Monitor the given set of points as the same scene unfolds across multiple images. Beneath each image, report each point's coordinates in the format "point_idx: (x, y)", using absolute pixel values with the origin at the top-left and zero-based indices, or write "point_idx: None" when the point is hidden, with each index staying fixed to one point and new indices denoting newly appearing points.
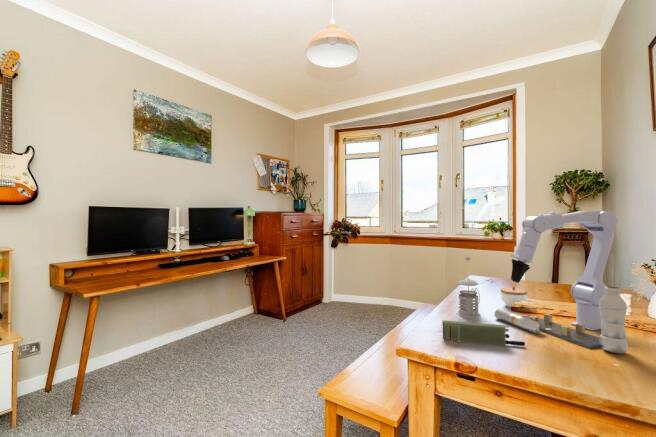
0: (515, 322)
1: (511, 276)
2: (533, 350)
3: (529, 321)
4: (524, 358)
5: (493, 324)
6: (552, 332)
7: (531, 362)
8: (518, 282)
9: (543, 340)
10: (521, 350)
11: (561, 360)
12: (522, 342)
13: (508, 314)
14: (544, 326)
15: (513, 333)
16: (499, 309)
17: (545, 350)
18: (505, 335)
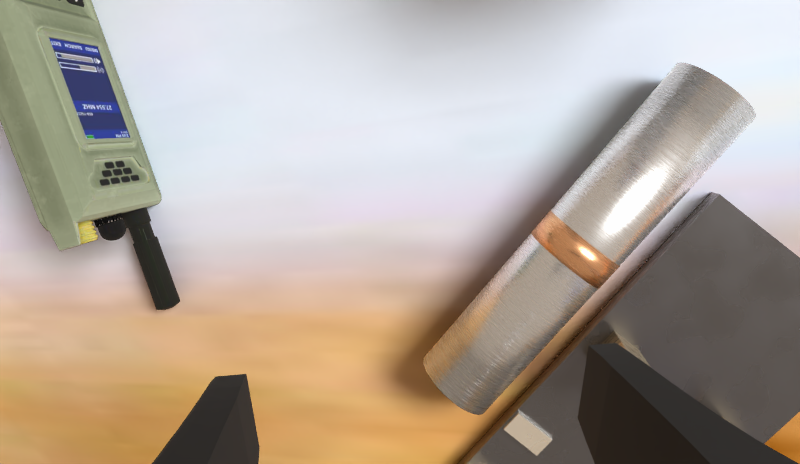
0: (524, 241)
1: (193, 408)
2: (159, 341)
3: (473, 346)
4: (31, 305)
5: (43, 152)
6: (479, 449)
7: (6, 334)
8: (580, 423)
9: (349, 390)
10: (122, 289)
11: (112, 449)
12: (153, 300)
13: (606, 189)
14: None
15: (380, 231)
16: (722, 99)
17: (195, 393)
18: (93, 220)
